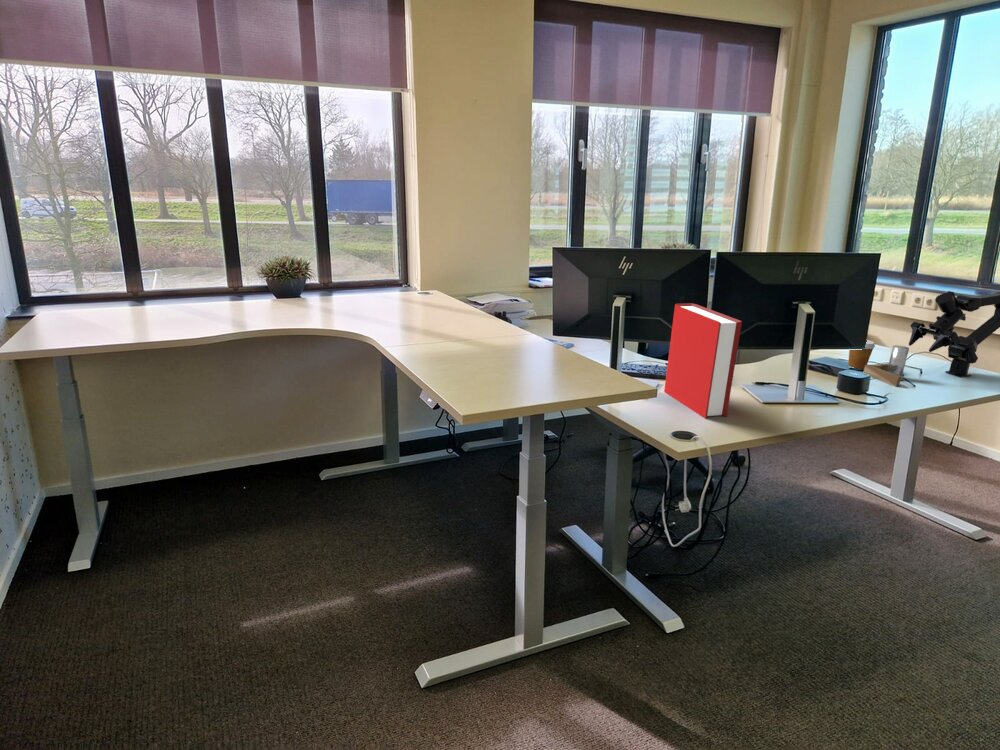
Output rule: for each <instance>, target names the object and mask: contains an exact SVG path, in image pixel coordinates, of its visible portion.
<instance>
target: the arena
mask: <svg viewBox="0 0 1000 750" xmlns="http://www.w3.org/2000/svg"><path fill="white" fill-rule="evenodd" d="M888 364H889V363H880V364H877V363H876V364H869V363H867V365H865V368H864V371H863V372H864V373H866V374H869V375H871V376H872V377H871V378H873V379H876V380H877V381H881V382H883V383H885V384H888V385H890V386H893V387H895V388H897V387H900V384H901V382H902V381H901V376H898V375H896V374H893V373H890V372H887V368H888Z"/></svg>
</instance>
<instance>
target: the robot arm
mask: <svg viewBox="0 0 1000 750" xmlns="http://www.w3.org/2000/svg"><path fill="white" fill-rule="evenodd" d="M934 299H935V300H934V301H935V303H936V305H937V307H938V308H939V310H940V312H942V313H943V314H942V315H941V316H936V321H934V322H933V323H929V324H928V327H929V328H928V327H926V325H925V324H924V323H923V322H918V321H913V322H911V324H910V325H909V326H910V328H911V330H912V331H911V336H910V339H909V341H908V346H910V347H911V346H913V345H914V344H915V343H916V342H917V341H918V340H919V339H924V337H925V336H926V335H927V334H929V335H932V336H933V338H932V339H933V340H935V341H934V342H933V344H932V345H931V346H930V347H929V349H928V352H929V353H932V352H934V351H937V350H939V349H941V348H942V347H946V348H947V347H948V348H947V354H948V355H947V356H948V358H950V359H952V360H951V363H950V366H949V370H946V371H945V372H944V373H947V374H950V375H953V376H956V377H958V376H959V377H960V378H962V376H964V377H971V376H972V374H969V369H970V366H971V364H975V363H977V362H978V358H979V357H978V355H977V354H976V352H977V349H978V346H979V345H980V344H981V343H982V342H983V341H985V340H986V339H987V338H989V337H990V336H991V335H992V334H993V333H995V332H996V331H997V330H999V329H1000V291H997V292H994V293H993V292H992V293H987V294H986V293H985V294H982V295H981V294H980V295H968V294H959V295H957V296H956V294H955V292H954V291H950V290H948V291H947V292H944V293H941V294H939V295H937V296H936V297H935V298H934ZM986 306H987V307H988V306H994V308H995V309H994V313H993V315H992V316H991V317H990V318H988V319H987V320H986V321H985V322H984V323H982V324H981V325H980V326H978V327H977V328H976V329H975V330H973V332H971V333H970V334H969V335H968V336H962V335H958V333H957V332H956V331H954V329H955V328H954V326H955V325H956V324H957V323H958V322H959V321H963V322H964V321H966V318H967V317H966V314H967V313H964V312H969V313H973V312H974V311H977V310H979V309H980V308H982V307H986ZM963 311H964V312H963Z"/></svg>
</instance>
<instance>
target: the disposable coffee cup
mask: <svg viewBox="0 0 1000 750" xmlns="http://www.w3.org/2000/svg"><path fill="white" fill-rule="evenodd" d="M866 340H867V342H866V347H865V349H862V350H848V351H849V352H848V365H849V366H851V367H854V368H859V369H862V370H863V371H862V372H864V368H865V365H867V364H869V361H870V357H871V355H872V352H873V350H874V348H875V347H876V345H875V342H874V341H873V340H868V339H866ZM848 365H847V366H848Z"/></svg>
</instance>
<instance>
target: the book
mask: <svg viewBox="0 0 1000 750" xmlns="http://www.w3.org/2000/svg"><path fill="white" fill-rule="evenodd" d="M742 324H743V321H742V320H739V319H737V318H734V317H731V316H729V315H726V314H724V313H720V312H718V311H715V310H713V309H710V308H708V307H704V306H702V305H699V304H696V303H690V302H688V303H685V302H684V303H675V304H674V311H673V319H672V325H671V335H670V342H669V348H668V349H669V350H668V359H667V367H666V372H665V373H666V374H665V381H664V382H665V383H664V390H663V391H664V393H665V394H666V395H668V396H669V397H672V398H673V399H674V400H676V401H677V402H679V403H680V404H682V405H683V406H685V407H686V408H688V409H689V410H691V411H692V412H693V413H695V414H697V415H699V416H700V417H701V418H704V419H706V418H707V417H712V416H723V417H725V418H727V416H728V410H729V404H730V399H731V398H730V397H731V392H732V385H733V380H734V372H735V366H736V360H737V355H738V354H737V353H738V348H739V343H740V342H739V341H740V336H741V329H742Z"/></svg>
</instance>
